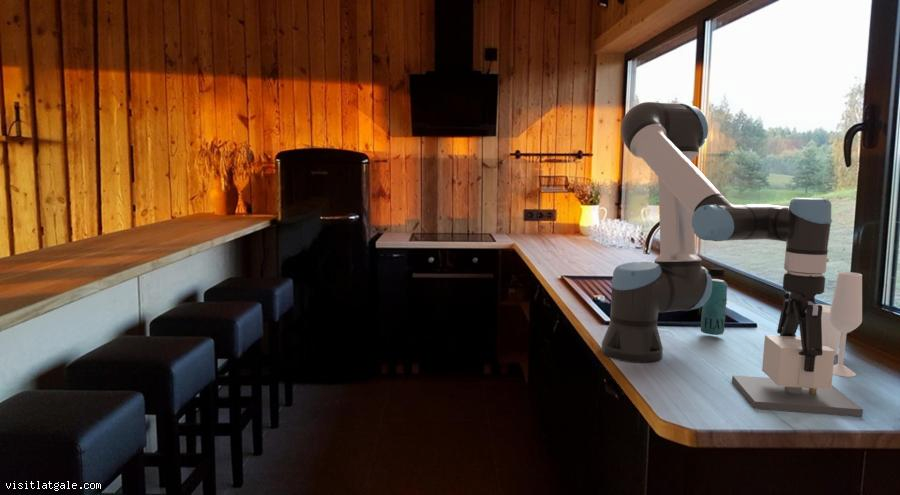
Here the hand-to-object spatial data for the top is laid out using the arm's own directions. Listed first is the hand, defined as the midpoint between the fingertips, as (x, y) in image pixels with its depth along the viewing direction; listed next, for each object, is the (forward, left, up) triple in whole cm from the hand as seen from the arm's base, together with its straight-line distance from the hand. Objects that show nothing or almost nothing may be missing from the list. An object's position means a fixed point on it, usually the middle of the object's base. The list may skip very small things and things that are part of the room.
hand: (795, 377), depth 132 cm
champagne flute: (+18, +21, -5) cm, 28 cm away
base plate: (0, 0, -5) cm, 5 cm away
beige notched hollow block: (0, 0, -1) cm, 1 cm away
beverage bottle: (-5, +47, -5) cm, 48 cm away
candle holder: (+20, +38, -5) cm, 43 cm away
